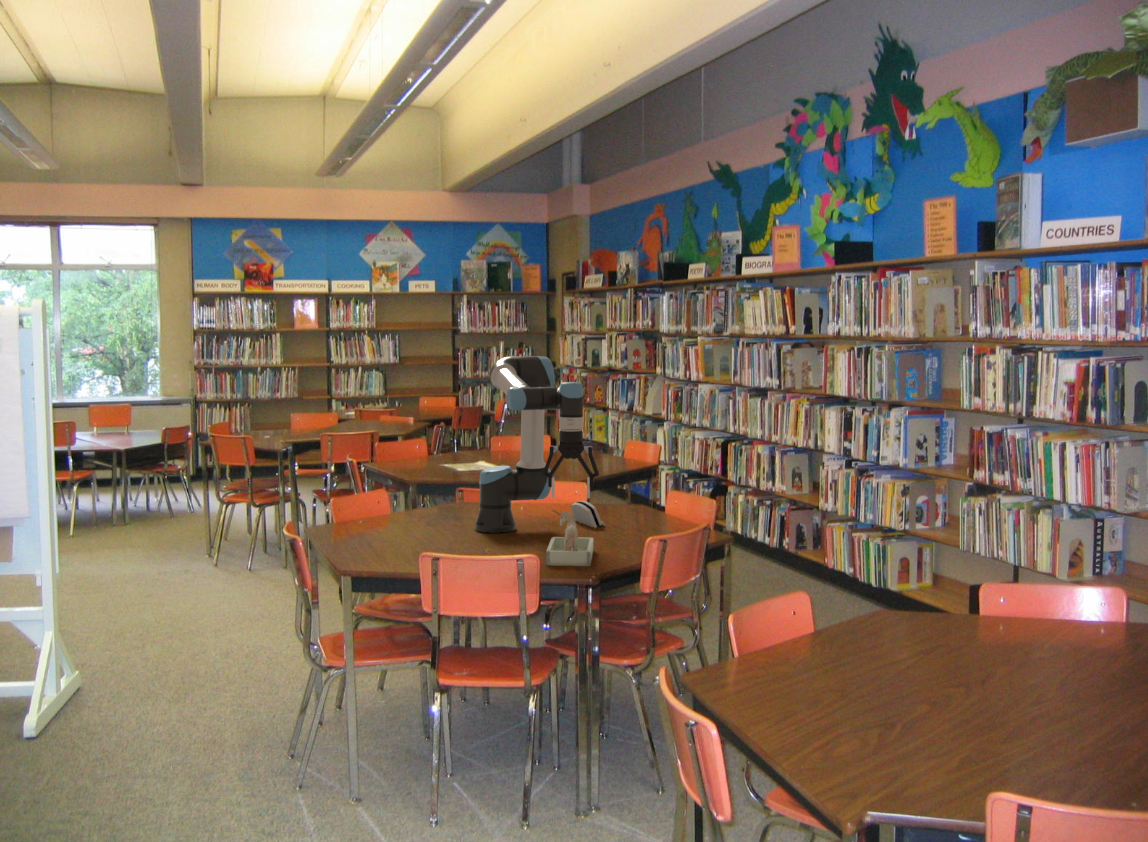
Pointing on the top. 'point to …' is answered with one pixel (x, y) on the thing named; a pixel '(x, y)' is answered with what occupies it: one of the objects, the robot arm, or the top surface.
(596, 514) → the grey curved block
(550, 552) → the tray
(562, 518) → the unicorn figurine
